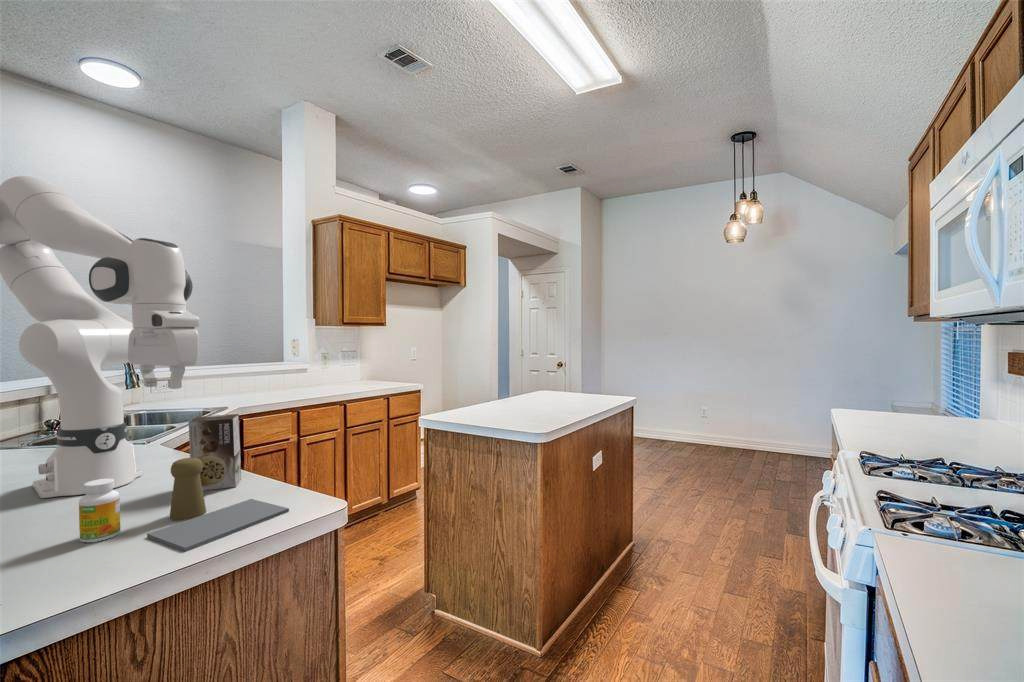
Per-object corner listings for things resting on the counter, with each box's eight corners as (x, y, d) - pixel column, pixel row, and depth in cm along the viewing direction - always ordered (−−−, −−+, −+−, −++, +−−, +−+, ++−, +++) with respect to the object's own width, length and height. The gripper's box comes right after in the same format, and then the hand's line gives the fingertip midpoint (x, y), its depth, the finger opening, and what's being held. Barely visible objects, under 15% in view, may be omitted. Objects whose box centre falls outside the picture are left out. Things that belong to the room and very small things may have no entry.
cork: (187, 521, 89) (186, 464, 88) (161, 519, 90) (159, 462, 90) (214, 509, 94) (212, 455, 94) (188, 507, 96) (187, 454, 95)
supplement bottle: (74, 546, 79) (73, 488, 79) (85, 534, 84) (84, 480, 83) (115, 539, 81) (114, 483, 81) (124, 528, 86) (122, 475, 86)
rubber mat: (147, 537, 82) (147, 533, 82) (251, 501, 99) (251, 498, 99) (185, 551, 76) (185, 547, 76) (289, 511, 93) (288, 508, 93)
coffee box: (242, 479, 114) (240, 413, 114) (235, 487, 108) (234, 417, 108) (198, 483, 111) (197, 415, 111) (189, 492, 105) (187, 420, 105)
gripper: (116, 320, 97) (119, 387, 97) (169, 317, 87) (171, 391, 88) (152, 321, 103) (154, 384, 103) (204, 318, 93) (206, 387, 93)
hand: (162, 387), depth 95 cm, fingers open, 8 cm apart
